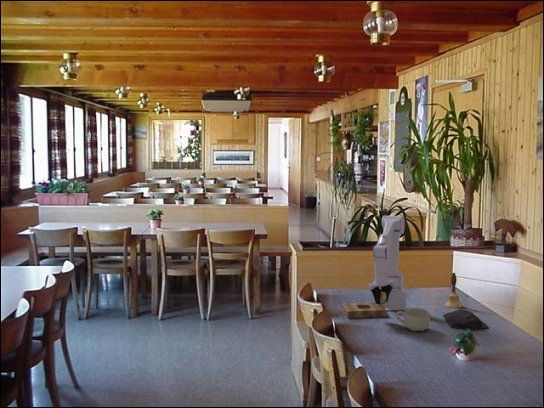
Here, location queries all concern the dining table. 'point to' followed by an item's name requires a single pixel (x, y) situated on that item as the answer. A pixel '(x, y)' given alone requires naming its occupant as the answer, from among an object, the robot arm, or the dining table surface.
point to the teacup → (415, 318)
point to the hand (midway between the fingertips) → (381, 302)
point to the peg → (382, 301)
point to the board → (362, 310)
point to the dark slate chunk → (464, 320)
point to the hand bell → (453, 295)
